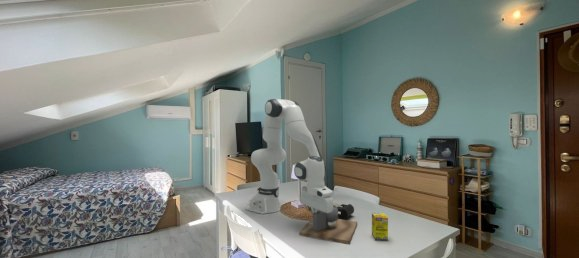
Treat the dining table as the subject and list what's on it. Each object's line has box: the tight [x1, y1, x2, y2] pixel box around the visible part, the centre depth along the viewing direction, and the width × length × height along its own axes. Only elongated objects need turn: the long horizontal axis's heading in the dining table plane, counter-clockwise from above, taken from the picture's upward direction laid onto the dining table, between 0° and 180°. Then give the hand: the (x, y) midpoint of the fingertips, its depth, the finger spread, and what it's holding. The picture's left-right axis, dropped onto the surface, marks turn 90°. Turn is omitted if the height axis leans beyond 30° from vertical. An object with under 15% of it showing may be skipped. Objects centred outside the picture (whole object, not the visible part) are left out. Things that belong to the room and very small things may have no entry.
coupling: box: [312, 206, 339, 231], centre depth 124 cm, size 15×8×8 cm, turn 130°
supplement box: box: [371, 212, 389, 242], centre depth 116 cm, size 6×6×11 cm
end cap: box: [336, 203, 355, 220], centre depth 143 cm, size 10×7×7 cm
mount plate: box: [298, 217, 358, 245], centre depth 126 cm, size 24×24×6 cm
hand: (315, 216), depth 123 cm, fingers closed
